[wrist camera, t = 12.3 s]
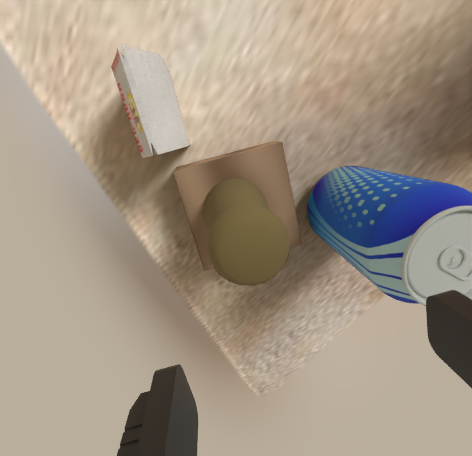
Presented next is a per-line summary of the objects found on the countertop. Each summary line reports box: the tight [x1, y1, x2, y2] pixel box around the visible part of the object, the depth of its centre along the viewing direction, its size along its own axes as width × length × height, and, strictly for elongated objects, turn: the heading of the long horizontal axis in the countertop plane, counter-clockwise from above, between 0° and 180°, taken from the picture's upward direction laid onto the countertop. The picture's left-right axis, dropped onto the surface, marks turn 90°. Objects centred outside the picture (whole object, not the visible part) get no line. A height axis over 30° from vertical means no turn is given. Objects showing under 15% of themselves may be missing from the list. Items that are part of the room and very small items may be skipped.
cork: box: [203, 178, 290, 286], centre depth 22 cm, size 6×6×11 cm
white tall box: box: [111, 43, 191, 158], centre depth 24 cm, size 4×7×10 cm, turn 14°
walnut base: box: [173, 142, 302, 271], centre depth 30 cm, size 10×10×4 cm
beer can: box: [307, 166, 472, 306], centre depth 25 cm, size 8×8×16 cm
